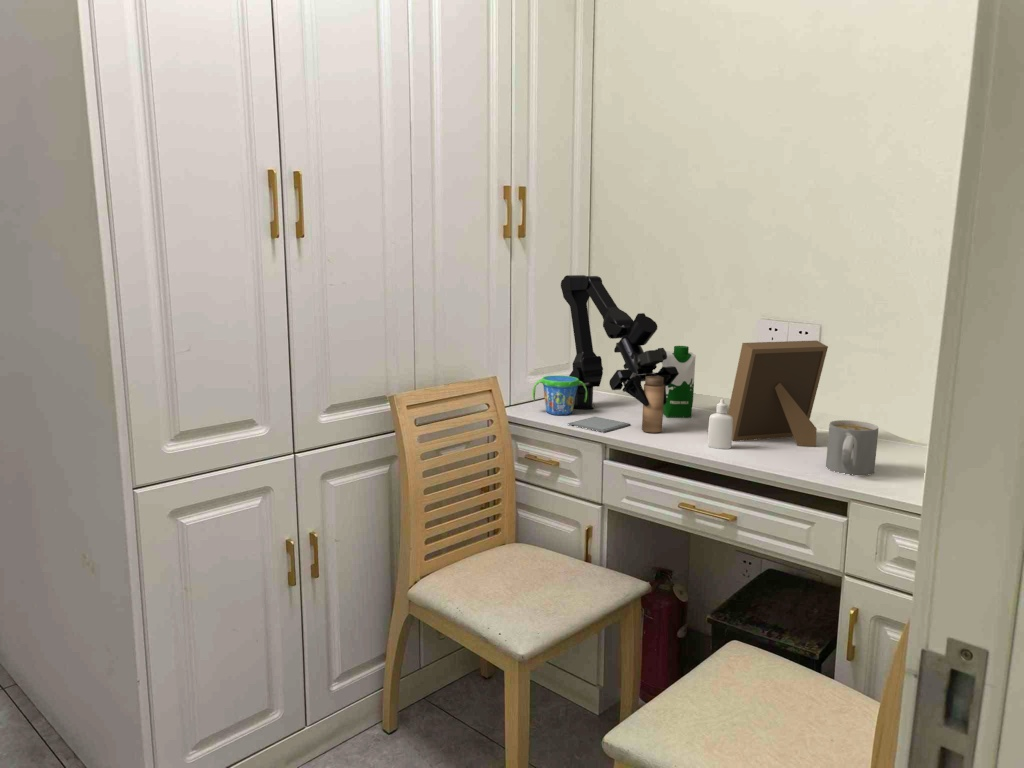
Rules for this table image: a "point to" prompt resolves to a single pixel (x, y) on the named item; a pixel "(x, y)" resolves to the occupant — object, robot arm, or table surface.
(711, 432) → the eye dropper bottle
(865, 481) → the table surface
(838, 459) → the coffee mug
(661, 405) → the shaker
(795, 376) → the photo frame
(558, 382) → the snack cup
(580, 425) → the coaster
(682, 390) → the milk carton
